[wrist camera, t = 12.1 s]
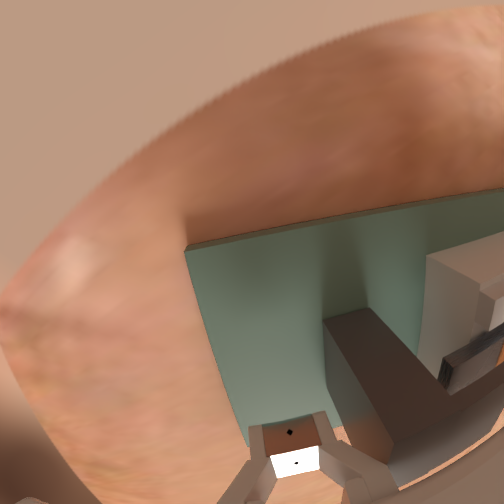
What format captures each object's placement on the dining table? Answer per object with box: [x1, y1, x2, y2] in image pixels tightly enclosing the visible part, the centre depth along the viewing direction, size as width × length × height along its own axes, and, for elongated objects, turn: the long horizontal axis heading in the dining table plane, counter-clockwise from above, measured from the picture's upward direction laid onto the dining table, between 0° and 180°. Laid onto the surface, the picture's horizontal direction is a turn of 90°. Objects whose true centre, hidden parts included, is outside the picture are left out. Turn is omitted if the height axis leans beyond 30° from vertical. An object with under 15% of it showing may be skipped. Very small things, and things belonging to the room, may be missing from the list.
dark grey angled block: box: [322, 307, 504, 487], centre depth 10 cm, size 6×4×7 cm
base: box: [184, 188, 504, 447], centre depth 11 cm, size 28×13×7 cm, turn 101°
